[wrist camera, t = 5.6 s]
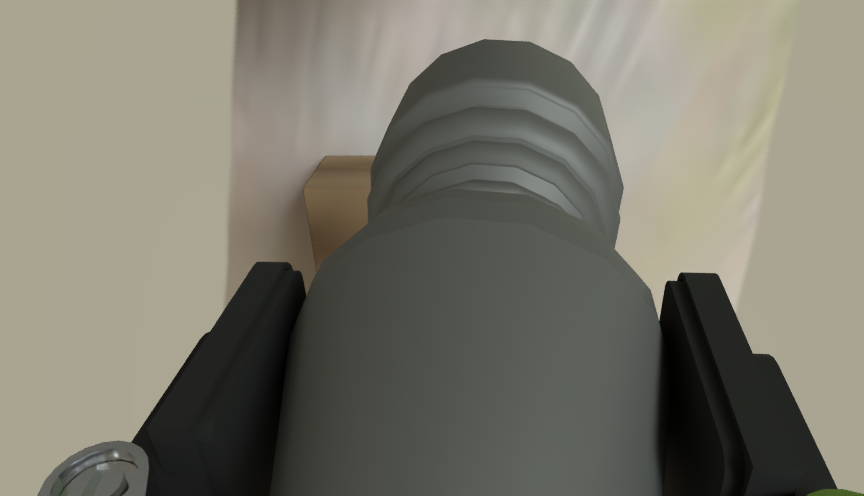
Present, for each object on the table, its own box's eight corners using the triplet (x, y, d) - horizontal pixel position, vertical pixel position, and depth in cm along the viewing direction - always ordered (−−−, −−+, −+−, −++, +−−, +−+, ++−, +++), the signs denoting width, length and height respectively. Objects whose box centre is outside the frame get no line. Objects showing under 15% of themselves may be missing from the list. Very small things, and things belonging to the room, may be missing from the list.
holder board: (325, 155, 34) (302, 188, 30) (601, 156, 32) (609, 191, 29) (364, 432, 44) (351, 480, 41) (576, 445, 42) (580, 496, 39)
